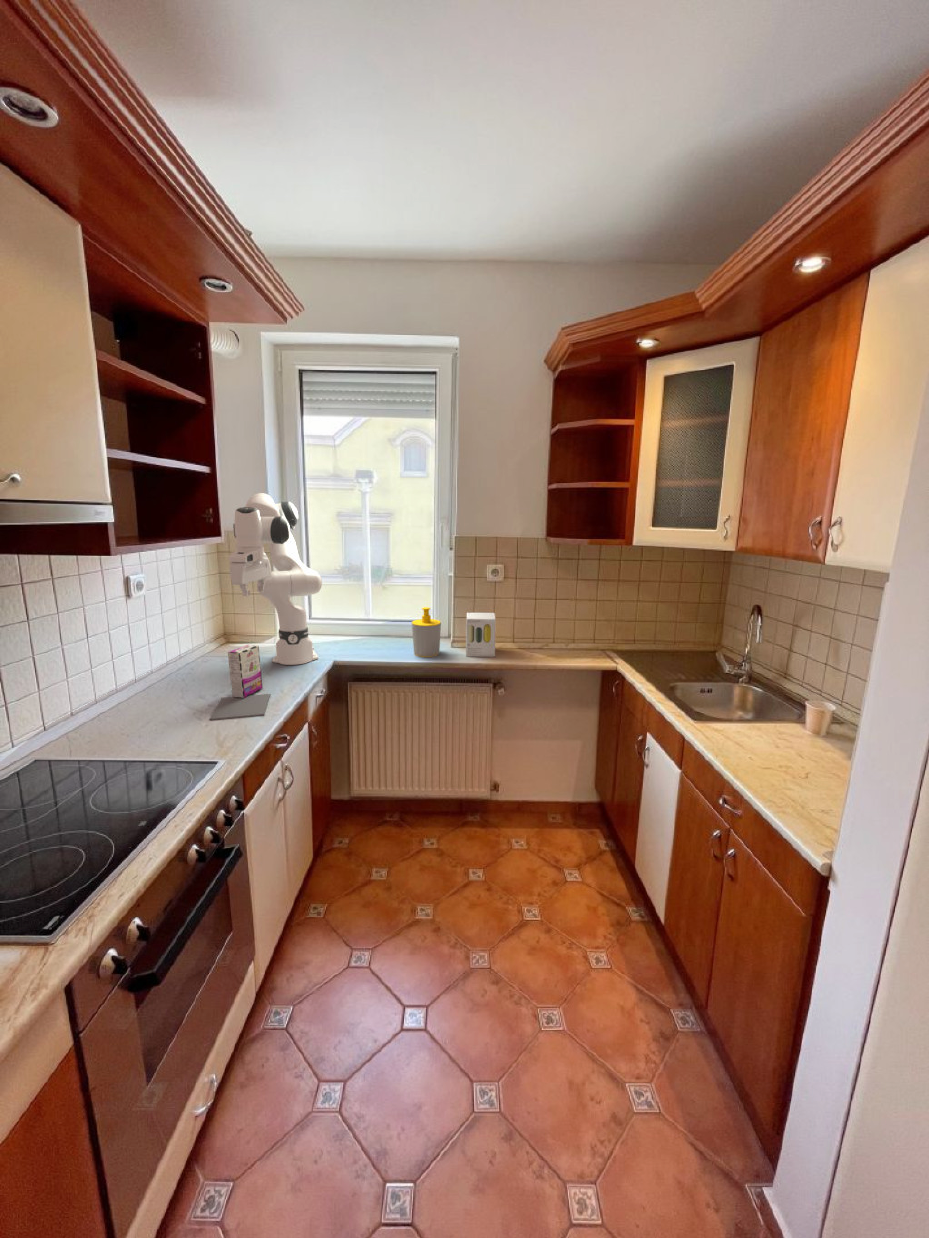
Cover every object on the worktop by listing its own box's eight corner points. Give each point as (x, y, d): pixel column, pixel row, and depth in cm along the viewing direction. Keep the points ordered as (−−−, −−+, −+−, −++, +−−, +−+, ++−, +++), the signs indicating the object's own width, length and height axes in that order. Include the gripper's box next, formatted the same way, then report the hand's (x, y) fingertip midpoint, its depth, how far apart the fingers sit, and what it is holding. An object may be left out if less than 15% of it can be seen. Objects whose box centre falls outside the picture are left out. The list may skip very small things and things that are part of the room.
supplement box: (465, 656, 224) (465, 618, 220) (466, 648, 237) (466, 612, 233) (495, 657, 224) (496, 618, 220) (494, 648, 237) (495, 612, 233)
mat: (221, 699, 174) (221, 697, 174) (270, 694, 178) (270, 693, 178) (209, 720, 157) (209, 718, 157) (264, 715, 161) (264, 713, 161)
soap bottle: (441, 649, 235) (440, 604, 230) (440, 657, 222) (440, 610, 217) (413, 649, 235) (412, 605, 230) (411, 657, 222) (410, 610, 217)
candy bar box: (250, 687, 184) (247, 644, 182) (263, 688, 183) (259, 644, 181) (231, 697, 174) (226, 651, 171) (244, 698, 173) (240, 652, 170)
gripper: (258, 551, 186) (261, 588, 189) (224, 557, 167) (228, 598, 170) (274, 552, 185) (276, 589, 189) (242, 558, 166) (246, 599, 169)
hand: (253, 593), depth 179 cm, fingers open, 8 cm apart
